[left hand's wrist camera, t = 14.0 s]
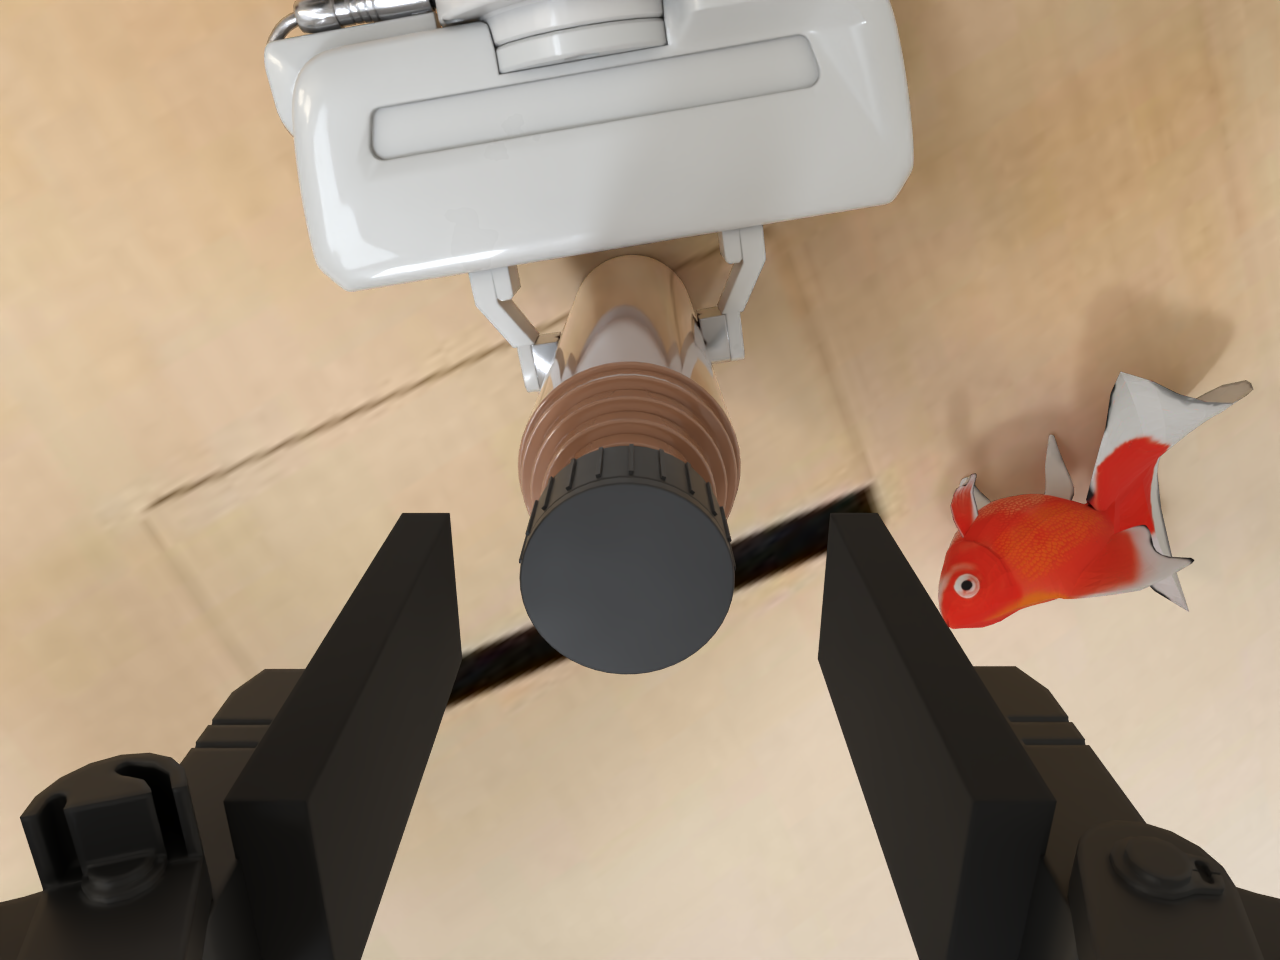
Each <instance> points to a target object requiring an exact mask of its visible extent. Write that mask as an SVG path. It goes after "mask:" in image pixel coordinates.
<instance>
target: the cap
mask: <svg viewBox="0 0 1280 960" xmlns="http://www.w3.org/2000/svg"><path fill="white" fill-rule="evenodd" d="M730 542H731V537H730V533H729V528H728V524H727V520H726V516H725V512H724V508H723V506H721V507H720V506H719V504H718V501H717V499H716V497H715V495H714V493H713V491H712V486H711V484H710V482H707V483H706V482H705V480H704V479H703V478H702V477H701V476H700V475H699V474H698V473H697V472H696V471H695V470H694V469H693V468H692V467H691V464H690V463H689V462H686V463H685V462H683V461H682V460H680V459H678V458H676V457H674V456H672V455H670V454H668V453H665V452H664V450H663V449H659V450H656V449H652V448H648V447H641V446H634V444H629V446H615V447H607V448H604V449H603V447H599V449H598V450H596V451H593V452H591V453H588V454H586V455H583V456H581V457H580V458H578V459H575V458H573V459H571V462H570V464H568V465H567V466H566V467H564V468H563V469H562V470H561V471H560V472H559V473H558V474H557V475H556V476H555V477H552V476H551V477H550V478H549V480H548V484H547V486H546V488H545V489H544V491H543V493H542V495H541V496H540V498H539V501H538V500H535V502H534V505H533V509H532V513H531V516H530V520H529V523H528V527H527V530H526V537H525V541H524V544H523V548H522V551H521V555H520V559H519V563H521V566H520V590H521V595H522V599H523V603H524V606H525V609H526V611H527V614H528V616H529V618H530V619H531V621H532V623H533V625H534V626H535V628H536V629H537V631H538V632H539V633H540V635H541V636H542V637H543V638H544V639H545V640H546V641H547V642H548V643H549V644H550V645H551V646H552V647H553V648H554V649H556V650H557V651H558V652H559V653H561V654H562V655H564V656H565V657H567V658H569V659H570V660H572V661H574V662H576V663H578V664H580V665H582V666H585V667H588V668H591V669H594V670H598V671H602V672H607V673H615V674H640V673H648V672H653V671H657V670H661V669H664V668H667V667H669V666H672V665H675V664H677V663H679V662H681V661H683V660H685V659H686V658H688V657H689V656H691V655H692V654H694V653H695V652H697V651H698V650H699V649H700V648H701V647H703V646H704V645H705V644H706V643H707V642H708V641H709V640H710V639H711V638H712V636H713V635H714V634H715V633H716V631H717V630H718V629H719V627H720V626H721V624H722V623H723V621H724V619H725V617H726V615H727V613H728V610H729V607H730V604H731V601H732V597H733V591H734V577H735V574H734V570H736V566H735V561H734V557H733V553H732V548H731V544H730Z"/></svg>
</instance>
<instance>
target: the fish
mask: <svg viewBox="0 0 1280 960" xmlns="http://www.w3.org/2000/svg"><path fill="white" fill-rule="evenodd" d="M1252 390H1253V387H1252V385H1251V383H1250V382H1248V381H1246V380H1245V381H1240V382H1235V383H1231V384H1226V385H1222V386H1220V387H1218V388H1216V389H1214V390H1211V391H1209V392H1207V393H1205V394H1204V395H1202V396H1200V397H1198V398H1196V399H1195V398H1191V397H1187V396H1184V395H1180V394H1177V393H1175V392H1173V391H1171V390H1169V389H1167V388H1165V387H1163V386H1161V385H1159V384H1157V383H1155V382H1153V381H1150V380H1147V379H1143V378H1140V377H1137V376H1134V375H1130V374H1127V373H1124V372H1120V374H1119V376H1118V378H1117V381H1116V383H1115V385H1114V387H1113V389H1112V392H1111V395H1110V402H1109V408H1108V415H1107V422H1106V428H1105V432H1104V435H1103V438H1102V442H1101V445H1100V449H1099V452H1098V456H1097V460H1096V463H1095V467H1094V471H1093V475H1092V479H1091V483H1090V487H1089V491H1088V495H1087V499H1086V500H1087V503H1086V504H1081V503H1078V502H1075V501H1072V498H1073V496H1074V486H1073V483H1072V480H1071V477H1070V475H1069V473H1068V471H1067V469H1066V466H1065V464H1064V462H1063V459H1062V457H1061V454H1060V451H1059V449H1058V446H1057V443H1056V440H1055V437H1054V436H1053V435H1049V440H1048V448H1047V454H1046V462H1045V478H1046V489H1045V494H1025V495H1018V496H1012V497H1006V498H1002V499H998V500H995V501H993V502H990V501H989V499H988V498H987V497H986V496H984V495H983V494H982V493H981V492H980V491H979V490H978V488H977V487H976V486H975V480H976V473H975V474H971V475H970V476H969V477H967V478H963V479H962V480H961V482H960V485H959V488H957V489H956V491H955V493H954V495H953V500H952V503H951V511H952V516H953V520H954V522H955V524H956V526H957V528H958V531H957V532H956V534H955V536H954V538H953V540H952V542H951V544H950V547H949V549H948V551H947V553H946V556H945V560H944V565H943V568H942V572H941V577H940V582H939V592H938V600H939V608H940V612H941V615H942V617H943V619H944V621H945V622H946V624H947V625H948V627H950V628H952V629H958V628H980V627H985V626H989V625H992V624H995V623H997V622H1000V621H1002V620H1003V619H1005V618H1006V617H1008V616H1010V615H1011V614H1013V613H1015V612H1017V611H1018V610H1020V609H1023V608H1026V607H1029V606H1032V605H1036V604H1040V603H1044V602H1048V601H1051V600H1055V599H1057V598H1063V599H1077V598H1087V597H1097V596H1105V595H1113V594H1120V593H1127V592H1133V591H1139V590H1142V589H1144V588H1146V587H1149V586H1150V587H1151V588H1152V589H1153V590H1154V591H1155V592H1157V593H1159V594H1160V595H1162V596H1164V597H1165V598H1167V599H1169V600H1170V601H1172V602H1174V603H1175V604H1177V605H1179V606H1180V607H1182V608H1184V609H1185V610H1187V611H1189V610H1188V607H1187V604H1186V601H1185V597H1184V594H1183V591H1182V588H1181V585H1180V582H1179V579H1178V576H1177V573H1176V572H1178V571H1180V570H1181V569H1183V568H1185V567H1186V566H1188V565H1190V564H1191V563H1192V562H1193V561H1194V560H1193V559H1192V558H1180V557H1172V554H1171V550H1170V546H1169V541H1168V537H1167V532H1166V528H1165V524H1164V519H1163V515H1162V511H1161V504H1160V494H1159V485H1158V476H1157V470H1158V463H1159V459H1160V456H1161V455H1162V454H1163V453H1165V452H1166V451H1167V450H1168V449H1170V448H1171V447H1172V446H1173V445H1174V444H1176V443H1177V442H1178V441H1179V440H1181V439H1182V438H1183V437H1185V436H1186V435H1187V434H1188V433H1190V432H1191V431H1193V430H1194V429H1195V428H1197V427H1198V426H1199V425H1201V424H1202V423H1204V422H1205V421H1207V420H1208V419H1210V418H1212V417H1213V416H1215V415H1217V414H1219V413H1221V412H1222V411H1224V410H1225V409H1227V408H1228V407H1230V406H1231V405H1233V404H1234V403H1236V402H1237V401H1238V400H1240V399H1242V398H1243V397H1245V396H1246V395H1247V394H1249V393H1250V392H1251V391H1252Z"/></svg>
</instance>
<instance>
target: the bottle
mask: <svg viewBox="0 0 1280 960" xmlns="http://www.w3.org/2000/svg"><path fill="white" fill-rule="evenodd" d="M629 444H634V446H641V447H648V448H652V449H656V450H659V449H663V450H664V452H665V453H668V454H670V455H672V456H674V457H676V458H678V459H680V460H682V461H683V462H685V463H686V462H689V463H690V464H691V467H692V468H693V469H694V470H695V471H696V472H697V473H698V474H699V475H700V476H701V477H702V478H703V479H704V480H705V482H706V483H707V482H710V484H711V486H712V491H713V493H714V495H715V497H716V499H717V501H718V504H719V506H720V507H721V506H723V508H724V512H725V516H726V520H727V518H728V516H729V514H730V512H731V509H732V506H733V503H734V500H735V497H736V494H737V490H738V485H739V480H740V465H741V461H740V452H739V446H738V442H737V438H736V435H735V432H734V429H733V426H732V423H731V420H730V417H729V414H728V411H727V408H726V405H725V402H724V399H723V396H722V393H721V390H720V387H719V384H718V381H717V378H716V375H715V372H714V369H713V366H712V363H711V360H710V357H709V354H708V351H707V348H706V345H705V342H704V339H703V336H702V333H701V331H700V328H699V325H698V322H697V319H696V316H695V313H694V310H693V307H692V304H691V301H690V298H689V295H688V293H687V290H686V288H685V286H684V284H683V282H682V281H681V280H680V278H679V277H678V276H677V275H676V273H675V272H674V271H673V270H672V269H670V268H669V267H668V266H666V265H665V264H663V263H661V262H660V261H658V260H655V259H653V258H650V257H646V256H641V255H624V256H618V257H615V258H612V259H609V260H607V261H605V262H603V263H602V264H600V265H598V266H597V267H596V268H595V269H593V270H592V271H591V272H590V273H589V274H588V275H587V277H586V278H585V279H584V281H583V282H582V284H581V286H580V288H579V289H578V292H577V295H576V297H575V300H574V303H573V305H572V308H571V310H570V313H569V316H568V318H567V321H566V323H565V326H564V329H563V331H562V334H561V337H560V339H559V342H558V344H557V347H556V350H555V352H554V355H553V358H552V360H551V363H550V365H549V368H548V371H547V373H546V376H545V378H544V381H543V384H542V386H541V389H540V392H539V394H538V397H537V399H536V402H535V405H534V407H533V410H532V413H531V415H530V418H529V420H528V423H527V426H526V428H525V431H524V434H523V436H522V440H521V445H520V449H519V458H518V472H519V481H520V486H521V491H522V494H523V498H524V502H525V505H526V508H527V511H528V513H529V515H530V516H531V513H532V509H533V505H534V502H535V500H538V501H539V498H540V496H541V495H542V493H543V491H544V489H545V488H546V486H547V484H548V480H549V478H550V477H551V476H552V477H555V476H556V475H557V474H558V473H559V472H560V471H561V470H562V469H563V468H564V467H566V466H567V465H568V464H570V462H571V459H573V458H575V459H578V458H580V457H581V456H583V455H586V454H588V453H591V452H593V451H596V450H598V449H599V447H603V449H604V448H607V447H615V446H629Z"/></svg>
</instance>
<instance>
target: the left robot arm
mask: <svg viewBox="0 0 1280 960" xmlns="http://www.w3.org/2000/svg"><path fill="white" fill-rule="evenodd" d="M461 661H462V651H461V640H460V628H459V616H458V605H457V593H456V581H455V570H454V558H453V546H452V535H451V523H450V513H402V514H401V516H400V518H399V519H398V521H397V523H396V524H395V526H394V527H393V529H392V531H391V532H390V534H389V535H388V537H387V539H386V540H385V542H384V543H383V545H382V547H381V548H380V550H379V551H378V553H377V555H376V556H375V558H374V559H373V561H372V563H371V564H370V566H369V568H368V569H367V571H366V572H365V574H364V576H363V577H362V579H361V580H360V582H359V584H358V585H357V587H356V588H355V590H354V592H353V593H352V595H351V596H350V598H349V600H348V601H347V603H346V604H345V606H344V608H343V609H342V611H341V613H340V614H339V616H338V617H337V619H336V621H335V622H334V624H333V625H332V627H331V629H330V630H329V632H328V633H327V635H326V637H325V638H324V640H323V641H322V643H321V645H320V646H319V648H318V649H317V651H316V653H315V654H314V656H313V658H312V659H311V661H310V662H309V664H308V666H307V667H306V669H264V670H263V671H262V672H260V673H259V674H257V675H256V676H255V677H253V678H252V679H250V680H249V681H248V682H246V683H245V684H243V685H242V686H240V687H239V688H238V689H236V690H235V691H233V692H232V693H231V695H230V696H229V697H228V699H227V700H226V702H225V703H224V704H223V706H222V707H221V708H220V710H219V711H218V713H217V714H216V715H215V717H214V718H213V719H212V725H208V726H207V728H206V729H205V730H204V732H203V733H202V735H201V736H200V737H199V739H198V740H197V741H196V747H195V748H191V750H190V751H189V752H188V754H187V755H186V757H185V758H184V759H183V761H182V762H181V763H180V765H179V764H178V763H177V762H176V761H175V760H174V759H172V758H171V757H166V756H162V755H157V754H152V753H140V754H126V755H119V756H115V757H112V758H108V759H104V760H101V761H97V762H94V763H90V764H88V765H86V766H84V767H82V768H80V769H78V770H76V771H73V772H71V773H69V774H67V775H65V776H63V777H61V778H59V779H58V780H57V781H55V782H54V783H53V784H51V785H50V786H49V787H47V788H46V789H45V790H44V791H42V792H41V793H40V794H38V795H37V796H36V797H35V798H34V799H33V800H32V802H31V803H30V804H29V806H28V807H27V808H26V810H25V811H24V813H23V814H22V815H21V817H20V819H21V822H22V826H23V829H24V832H25V835H26V838H27V841H28V844H29V847H30V850H31V853H32V856H33V859H34V863H35V866H36V869H37V872H38V875H39V878H40V881H41V884H42V887H43V891H42V892H38V893H35V894H32V895H29V896H25V897H21V898H17V899H13V900H9V901H5V902H0V960H361V957H362V954H363V951H364V948H365V945H366V942H367V940H368V937H369V934H370V931H371V928H372V925H373V922H374V919H375V916H376V913H377V910H378V907H379V904H380V901H381V898H382V895H383V892H384V889H385V886H386V883H387V880H388V877H389V874H390V871H391V868H392V865H393V862H394V859H395V856H396V854H397V851H398V848H399V845H400V842H401V839H402V836H403V833H404V830H405V827H406V824H407V821H408V818H409V815H410V812H411V809H412V806H413V803H414V800H415V797H416V794H417V791H418V788H419V785H420V782H421V779H422V776H423V773H424V770H425V767H426V765H427V762H428V759H429V756H430V753H431V750H432V747H433V744H434V741H435V738H436V735H437V732H438V729H439V726H440V723H441V720H442V717H443V714H444V711H445V708H446V705H447V702H448V699H449V696H450V693H451V690H452V687H453V684H454V681H455V678H456V676H457V673H458V670H459V667H460V664H461ZM818 661H819V664H820V667H821V670H822V673H823V676H824V678H825V681H826V684H827V687H828V690H829V693H830V696H831V699H832V702H833V705H834V708H835V711H836V714H837V717H838V720H839V723H840V726H841V729H842V732H843V735H844V738H845V741H846V744H847V747H848V750H849V753H850V756H851V759H852V762H853V765H854V767H855V770H856V773H857V776H858V779H859V782H860V785H861V788H862V791H863V794H864V797H865V800H866V803H867V806H868V809H869V812H870V815H871V818H872V821H873V824H874V827H875V830H876V833H877V836H878V839H879V842H880V845H881V848H882V851H883V854H884V856H885V859H886V862H887V865H888V868H889V871H890V874H891V877H892V880H893V883H894V886H895V889H896V892H897V895H898V898H899V901H900V904H901V907H902V910H903V913H904V916H905V919H906V922H907V925H908V928H909V931H910V934H911V937H912V940H913V942H914V945H915V948H916V951H917V954H918V957H919V960H1280V899H1279V898H1274V897H1270V896H1266V895H1262V894H1257V893H1254V892H1251V891H1247V890H1244V889H1241V888H1238V887H1236V886H1235V885H1234V883H1233V882H1232V880H1231V879H1230V877H1229V875H1228V874H1227V872H1226V871H1225V869H1224V868H1223V866H1221V865H1220V864H1219V863H1218V862H1217V861H1216V860H1214V859H1213V858H1212V857H1211V856H1210V855H1209V854H1207V853H1206V852H1205V851H1204V850H1203V849H1202V848H1200V847H1199V846H1197V845H1195V844H1194V843H1192V842H1190V841H1188V840H1186V839H1184V838H1183V837H1181V836H1179V835H1177V834H1175V833H1173V832H1171V831H1169V830H1165V829H1162V828H1159V827H1156V826H1153V825H1149V824H1146V822H1145V821H1144V820H1143V818H1142V817H1141V815H1140V814H1139V813H1138V811H1137V810H1136V809H1135V807H1134V806H1133V805H1132V803H1131V802H1130V800H1129V799H1128V798H1127V796H1126V795H1125V794H1124V792H1123V791H1122V790H1121V788H1120V787H1119V785H1118V784H1117V783H1116V781H1115V780H1114V779H1113V777H1112V776H1111V774H1110V773H1109V772H1108V770H1107V769H1106V768H1105V766H1104V765H1103V764H1102V762H1101V761H1100V759H1099V758H1098V757H1097V755H1096V754H1095V753H1094V751H1093V750H1092V748H1091V747H1090V746H1089V745H1085V739H1084V738H1083V736H1082V735H1081V733H1080V732H1079V731H1078V729H1077V728H1076V727H1075V725H1074V724H1073V723H1072V722H1069V721H1068V716H1067V714H1066V713H1065V712H1064V710H1063V709H1062V707H1061V706H1060V705H1059V703H1058V702H1057V701H1056V699H1055V698H1054V697H1053V695H1052V694H1051V692H1050V691H1049V690H1048V689H1047V688H1045V687H1044V686H1043V685H1041V684H1040V683H1038V682H1037V681H1035V680H1034V679H1033V678H1031V677H1030V676H1028V675H1027V674H1026V673H1024V672H1023V671H1021V670H1020V669H1019V668H1017V667H1016V666H972V664H971V662H970V661H969V659H968V658H967V656H966V654H965V653H964V651H963V649H962V648H961V646H960V645H959V643H958V641H957V640H956V638H955V637H954V635H953V633H952V632H951V630H950V629H949V627H948V625H947V624H946V622H945V621H944V619H943V617H942V616H941V614H940V613H939V611H938V609H937V608H936V606H935V604H934V603H933V601H932V600H931V598H930V596H929V595H928V593H927V592H926V590H925V588H924V587H923V585H922V584H921V582H920V580H919V579H918V577H917V576H916V574H915V572H914V571H913V569H912V568H911V566H910V564H909V563H908V561H907V559H906V558H905V556H904V555H903V553H902V551H901V550H900V548H899V547H898V545H897V543H896V542H895V540H894V539H893V537H892V535H891V534H890V532H889V531H888V529H887V527H886V526H885V524H884V523H883V521H882V519H881V518H880V516H879V514H878V513H830V523H829V535H828V546H827V558H826V570H825V581H824V593H823V605H822V616H821V628H820V640H819V651H818Z"/></svg>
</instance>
